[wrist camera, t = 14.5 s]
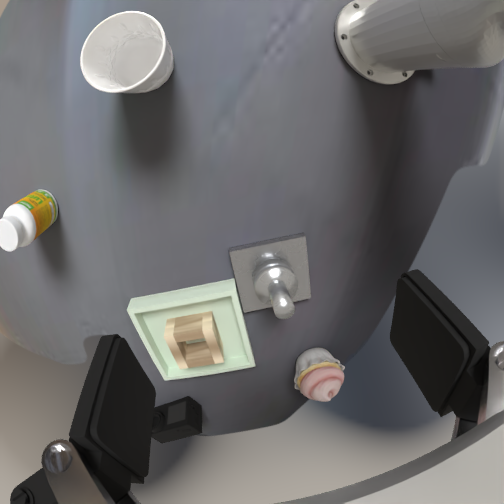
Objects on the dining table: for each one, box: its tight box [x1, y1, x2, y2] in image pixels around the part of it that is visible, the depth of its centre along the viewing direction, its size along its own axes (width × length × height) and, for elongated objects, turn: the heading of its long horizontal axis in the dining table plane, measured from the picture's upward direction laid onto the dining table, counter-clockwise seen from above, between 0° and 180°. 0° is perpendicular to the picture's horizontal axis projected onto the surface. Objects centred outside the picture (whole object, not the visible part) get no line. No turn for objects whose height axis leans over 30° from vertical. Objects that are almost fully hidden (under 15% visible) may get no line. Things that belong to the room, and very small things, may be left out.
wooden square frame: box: [164, 311, 224, 369], centre depth 43 cm, size 9×7×4 cm
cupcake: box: [294, 348, 345, 402], centre depth 46 cm, size 9×9×10 cm
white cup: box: [80, 11, 174, 93], centre depth 23 cm, size 8×8×10 cm
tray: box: [127, 279, 255, 380], centre depth 43 cm, size 16×16×3 cm
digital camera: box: [151, 396, 202, 443], centre depth 50 cm, size 10×5×7 cm, turn 119°
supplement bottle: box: [0, 190, 58, 252], centre depth 29 cm, size 5×5×10 cm
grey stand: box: [229, 233, 311, 319], centre depth 37 cm, size 10×10×9 cm
